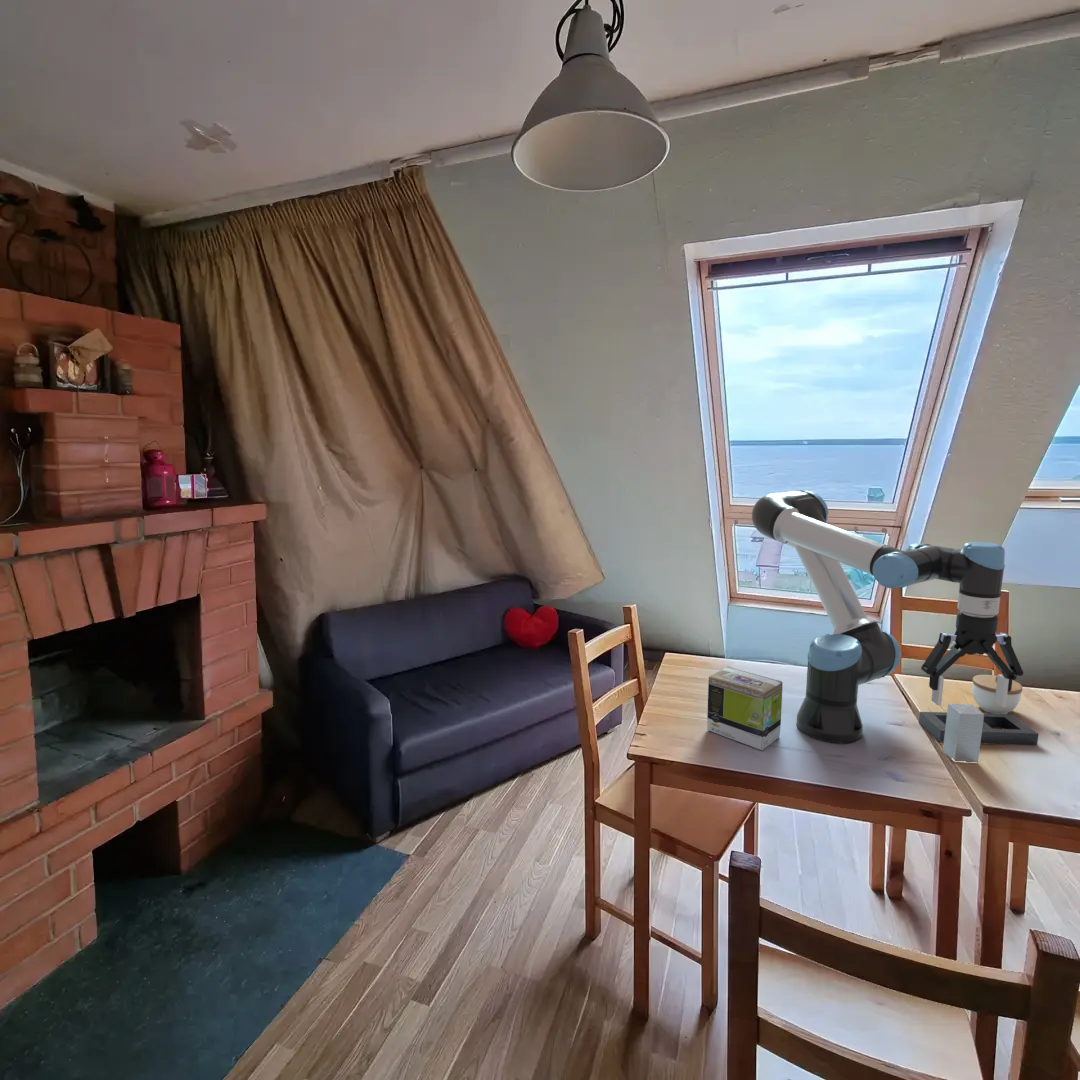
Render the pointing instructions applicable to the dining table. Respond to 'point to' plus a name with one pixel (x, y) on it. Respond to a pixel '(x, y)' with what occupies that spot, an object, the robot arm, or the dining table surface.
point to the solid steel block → (963, 732)
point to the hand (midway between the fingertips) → (968, 703)
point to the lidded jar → (986, 694)
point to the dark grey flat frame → (985, 728)
